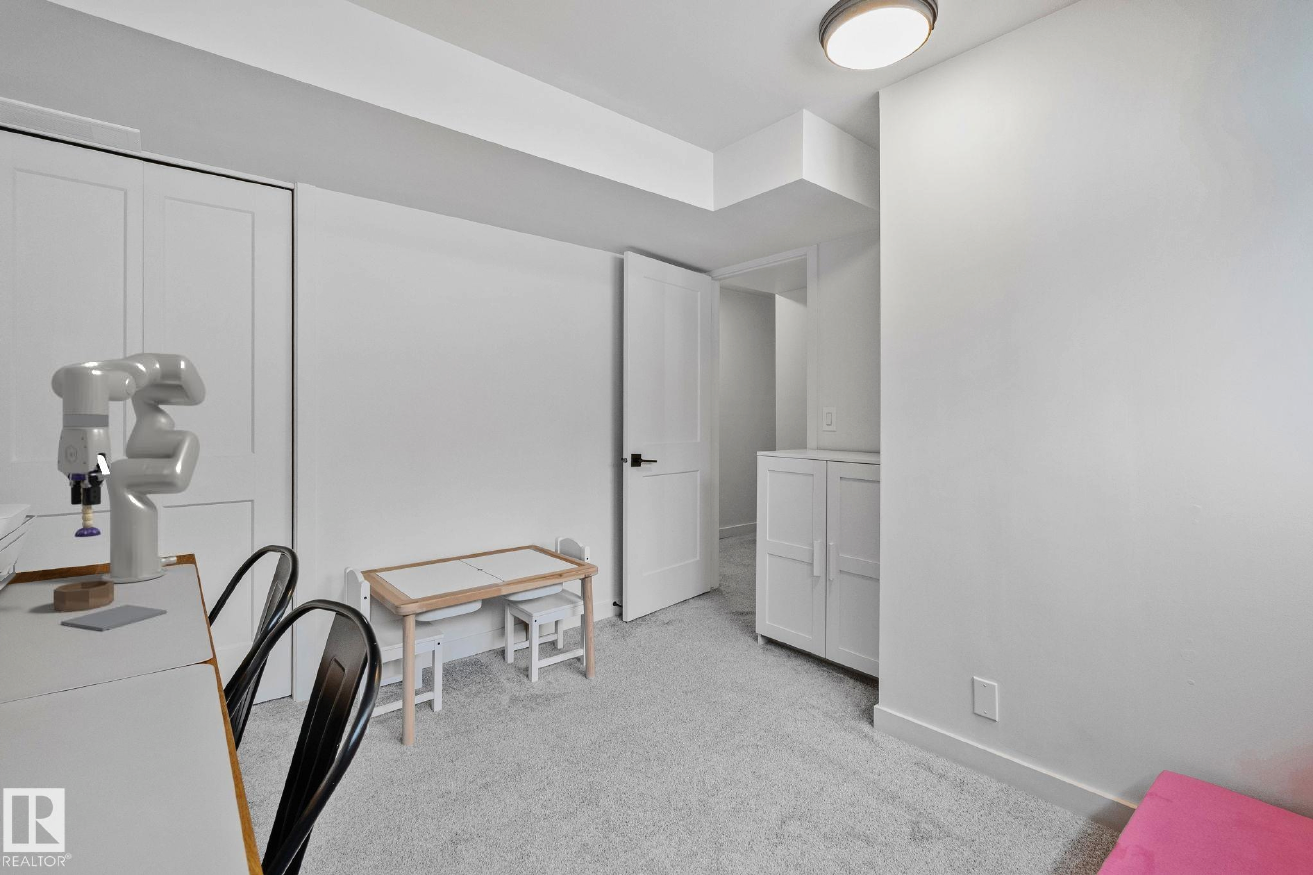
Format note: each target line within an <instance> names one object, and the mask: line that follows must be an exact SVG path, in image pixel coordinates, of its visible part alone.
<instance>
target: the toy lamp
mask: <svg viewBox="0 0 1313 875" xmlns="http://www.w3.org/2000/svg"><path fill="white" fill-rule="evenodd" d="M90 473H97V471H96V470H93V471H90ZM92 477H93V476H91V479H92ZM71 480H72V481H81V486H82V488H86V487H85V483H84V481H85V476H84V474H73V473H72V477H71ZM82 488H81V493H82ZM81 499H82V495H81ZM80 505H81V507H82V508H81V514H82V515H81V519H82V525H81V526H82V528H79V529H78V530H76V531H75V533H74V537H75V538H90V537H97V536H100V535H101V534H102V533H101V530H100V529H99V528H98V527H95V526H94V522H93V519H94V518H93V517H94V516H93V512H94V510H93V507H92V506H93V505H89V506H83V505H82V503H81V504H80Z"/></svg>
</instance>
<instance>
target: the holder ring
mask: <svg viewBox="0 0 1313 875" xmlns="http://www.w3.org/2000/svg"><path fill="white" fill-rule="evenodd" d="M114 601H115V583H114V581H109V580H102V579H94V580H93V579H92V580H81V581H76V582H71V583H66V584H62V585H59V586H58V587H56V588H55V589H53V611H54V612H61V611H62V612H63V613H71V612H72V611H73V612H81V611H90V610H93V609H98V608H102V606H103V607H105V606H109V605H111V604H112V603H113V602H114Z"/></svg>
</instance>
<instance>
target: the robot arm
mask: <svg viewBox="0 0 1313 875" xmlns="http://www.w3.org/2000/svg"><path fill="white" fill-rule="evenodd" d="M50 384H51V390H52V391H53V393H54V394H55V395H56V396H57V397H58V398H60V399H62V429H61V432H60V435H59V441H58V451H57V470H58V471H59V472H60V473H62V474H63V475H64V476H65V477H66V478H67V479H68V481H69V484H68V485H69V487H70V505H73V506H76V505H81V503H82V505H83V506H89V505H92V506H97V505H101V503H102V487H103V486H104V484H103V482H104V481H105V483H106V489H107V492H108V500H109V521H110V522H109V527H110V528H109V531H110V533H109V536H110V537H109V548H110V549H109V562H110V563H109V572H108V573H106V574H103V575H102V576H101V580H109V581H114V584H123V583H134V582H143V581H147V580H148V581H149V580H153V579H156V578H160V577H162V576H163V575H165V574H166V569H165V568H163V567H165V565H171V564H176V563H177V561H178V560H177V557H176V556H175V555H172V556H167V557H163V556H158V552H159V548H158V546H159V544H158V543H159V541H158V540H159V538H158V537H159V534H158V532H159V530H158V529H159V527H158V526H159V522H158V520H159V510H158V508H157V505H156V504H155V503H154V502H153V500H152V499H150V497H148V496H149V495H170V494H171V495H172V494H180V493H183V492H185V491H186V490H187V489H188V487H189V486H190V483H191V482H192V478H193V474H194V472H195V468H196V465H197V461H198V459H199V456H200V449H201V448H200V439H199V437H198V436H197V435H196V434H195V433H194V432H192V431H189V430H182V429H181V430H180V429H179V430H178V429H175V426H176V424H175V423H176V422H175V421H174V419H173V417H172V416H171V415H170V414H169V413H168V412H167V411H165V410H164V409H163V408H162V407H160V406H177V407H178V406H179V407H180V406H182V407H183V406H184V407H193V406H198V405H200V404H202V403H203V402H204V400H205V399H206V394H207V393H206V387H205V384H204V381H203V379H202V377H201V376H200V373H199V372H198V370H197V368H196V366H194V364H193V362H192V361H191V360H190V359H189V358H187V357H186V356H185V355H182V354H178V353H177V354H175V353H174V354H172V353H157V352H155V353H154V352H139V353H135V354H131V355H129V356H126V357H121V358H116V359H107V360H98V361H88V362H87V361H86V362H77V363H73V364H68V365H65V366H62V367H60V368H59V369H57V370H56V371H55V372H54V374H53V375H52V378H51V382H50ZM129 399H130V400H131V404H132V408H133V411H134V414H135V418H136V421H135V424H134V425H133V426H134V427H133V428H132V430H131V433H130V435H129V437H128V440H127V443H126V445H125V449H124V450H125V451H124V452H125V456H126V458H121V459H117V460H115V461H113V462H112V449H111V448H112V446H111V439H110V434H109V429H110V402H124V401H127V400H129ZM93 470H96V471H97V473H90V471H93ZM72 473H73V474H84V476H85V481H84V483H85V487H86V488H82V486H81V481H72V480H71V477H72ZM91 476H93V477H92V479H91ZM81 488H82V493H81ZM81 495H82V499H81ZM147 495H148V496H147ZM82 505H81V506H82Z"/></svg>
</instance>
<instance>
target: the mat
mask: <svg viewBox="0 0 1313 875" xmlns="http://www.w3.org/2000/svg"><path fill="white" fill-rule="evenodd" d="M167 613H168V612H167V609H166V610H165V609H162V608H161V609H159V608H152V607H146V606H139V605H130V604H124V605H121V606H116V607H113V608H108V609H105V610H100V611H97V612H93V613H88V614H85V615H82V616H78V617H74V618H70V619H67V620H61V621H60V622H61V623H60V625H62V624H66V625H65V626H68V625H70V627H74V626H77V627H76V628H80V627H82V628H81V629H87V628H89V629H88V630H93V629H97V630H96V631H99V630H100V631H99V632H104V631H108V630H107V629H109V630H111V628H112V629H116V628H120V627H123V626H126V625H130V624H133V623H137V622H140V621H144V620H147V619H151V618H154V617H158V616H162V615H165V614H167Z"/></svg>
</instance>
